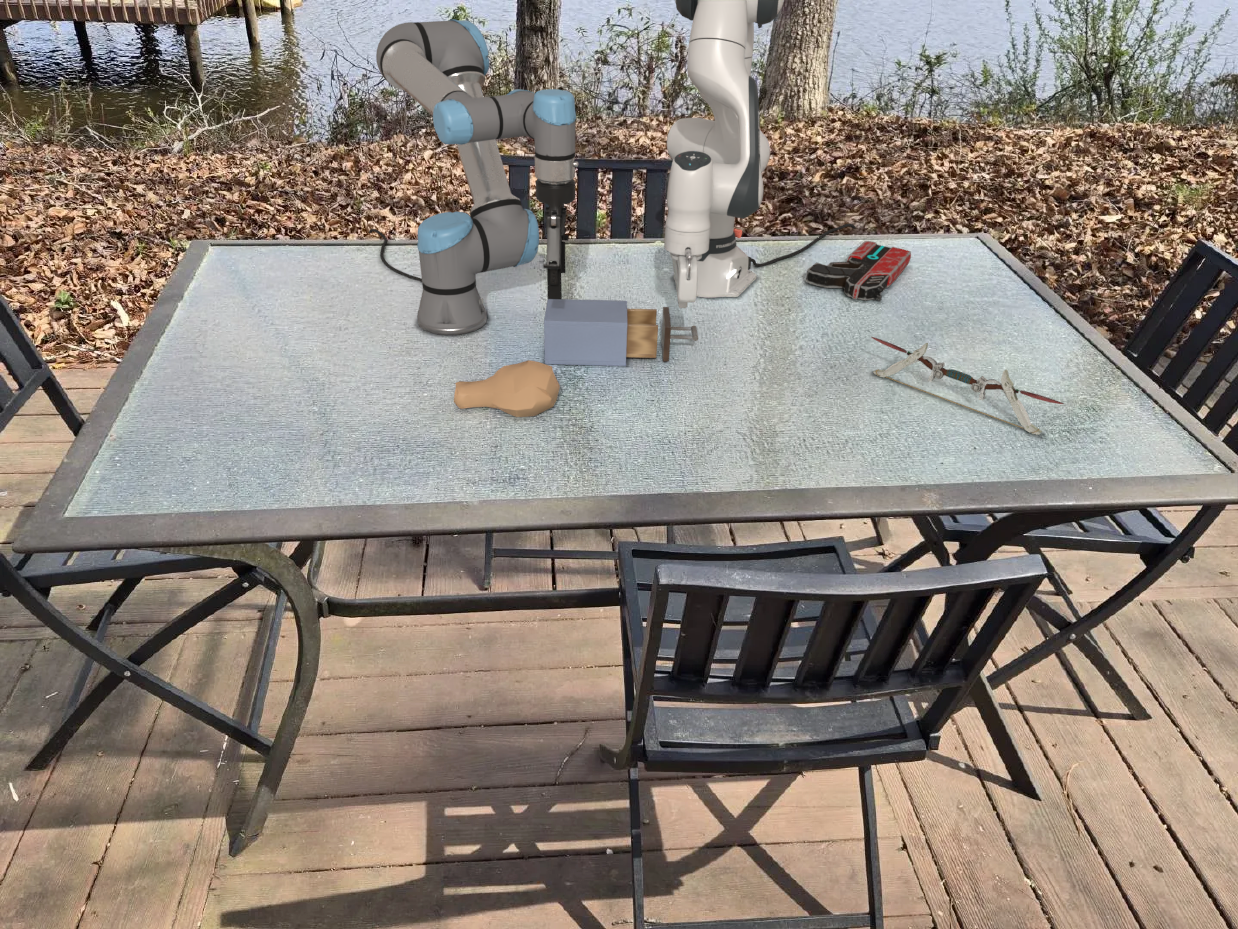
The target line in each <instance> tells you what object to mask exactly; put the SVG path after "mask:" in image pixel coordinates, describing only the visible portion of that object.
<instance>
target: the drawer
mask: <svg viewBox="0 0 1238 929" xmlns="http://www.w3.org/2000/svg"><path fill="white" fill-rule="evenodd" d="M657 312H658V310H657V308H627V349H626V358H640V359H641V358H644V359H645V358H647V359H656V358H657V356H658V355H657V354H658V353H657V352H658V336H659V324H657ZM661 317H662V318H661V337H660V344H661V353H662V361H663V362H670V352H671V350H670V349H671V340H692V341H693V342H698V341H699V333H698V327H697V325H691V326H672V323H671V314H670V307H669V306H662V316H661ZM672 331H683V332H684V331H685V332H686V331H687V332H688V331H690V332H691V335H681V334H679V335H677V334H675V335H674V334H673V335H672Z"/></svg>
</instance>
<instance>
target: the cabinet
mask: <svg viewBox="0 0 1238 929" xmlns="http://www.w3.org/2000/svg"><path fill="white" fill-rule="evenodd" d="M627 309H628V300H619V299H618V300H617V299H616V300H615V299H612V300H611V299H579V298H578V299H574V298H572V299H571V298H562V299H548V298H547V301H546V306H545V312H544V317H543V318H544V319H543V339H544V364H546V365H568V366H569V365H573V366H574V365H575V366H576V365H577V366H612V367H613V366H615V367H616V366H618V367H619V366H620V367H627V357H626V349H627Z"/></svg>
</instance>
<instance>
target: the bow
mask: <svg viewBox="0 0 1238 929" xmlns="http://www.w3.org/2000/svg"><path fill="white" fill-rule="evenodd" d="M870 338H871V339H873V340H875V341H877V342H878V343H880V344H882V345H884V346H886V347H888V348H891V349H893V350H895V351H898V352H901V353H903V354H904V353H905V354H906V355H907V357H906V358H904V359H903V358H902V359H901V360H898V361H897V362H895V363H893V364H892V365H890V366H889V367H887V369H880V368H879V369H875V370H873V372H872V373H873V374H874V375H876V376H877V377H880V378H886V379H889V380H892V381H894V382H897V383H900V384H902V385H905V386H907V387H909V388H910V387H911V388H913V389H916V390H919V391H921V392H924V393H926V394H929V395H931V396H935V397H936V398H940V399H942V400H945V401H947V402H948V401H949V402H951V403H952V404H953V403H954V404H956V405H958V406H962V407H964V408H967V409H969V410H972V411H975V412H978V413H980V414H982V415H985V416H988V417H991V418H994V419H996V420H998V421H1001V422H1004V423H1007V424H1009V425H1012V426H1015V427H1017V428H1020V429H1023V430H1025V431H1027V432H1028V433H1030V434H1032V435H1036V436H1039V435H1041V434H1042V433H1043V430H1042V429H1040V428H1039V427H1037V426H1036V425H1034V424H1033V423H1032V422H1031V420H1030V416H1029V413H1028V412H1027V410H1026V408H1025V406H1024V405H1023V403H1022V402H1021V400H1020V399H1019V398H1018V395H1017V394H1019V393H1020V394H1021V395H1024V396H1026V397H1029V398H1033V399H1035V400H1038V401H1044V402H1047V403H1051V404H1057V405H1065V403H1064V402H1061V401H1059V400H1056V399H1053V398H1051V397H1047V396H1044V395H1041V394H1038V393H1034V392H1030V391H1026V390H1022V389H1021V390H1020V389H1018V388H1015V386H1014V382H1013V381H1012V379H1011V377H1010V375H1009V370H1008V369H1005V370H1003V371H1002V374H1001V378H1000V381H999V380H997V379H995V378H989V379H987V378H986V377H985V376H984V375H981V376H980V377H979V378H978V379H975V378H974V377H973V376H972V375H970V374H968V373H965V372H963V371H959V370H956V369H950V368H949V369H946V368H945V365H946V364H945V362H944V361H943V362H937V360H935V359H934V358H933V357H931V356H927V355H926V356H924V355H925V354H926V353H927V350H928V346H929V342H925V343H924V344H923V345H922V346H921V347H920V348H917V349H915V350H913V351H912V352H911V351H907V350H906V349H905V348H903V347H902V346H901V347H900V346H898V345H896V344H893V343H892V342H888V341H886V340H883V339H880V338H877V337H874V336H870ZM918 362H920V363H922V364H923V365H924V366H925V367H926V368H927V369H929V370H931V373H930V375H929V376H928V379H927V382H929V383H932V382H933V381H935V378H936V379H938V380H941V379H943V378H944V377H947V378H949V379H953V380H956V381H959V382H961V383H964V384H967V385H970V386H971V387H970V389H971V391H972V392H974V393H979V394H978V400H980V401H984V400H986V395H987V393H986V390H989V391H993V390H994V391H995V390H999V391H1000V390H1001V391H1002V392H1003V394H1004V395H1005V397H1006V399H1007V401H1008V402H1009V404H1010V406H1011V408H1012V410H1013V413H1014V414H1015V415H1016V418H1017V420H1018V422H1019V424H1020V425H1021V426H1020V425H1018V424H1015V423H1012V422H1009V421H1007V420H1004V419H1002V418H1000V417H996V416H994V415H991V414H988V413H985V412H982V411H980V410H977V409H974V408H971V407H969V406H966V405H964V404H960V403H958V402H955V401H953V400H950V399H948V398H945V397H942V396H939V395H937V394H934V393H931V392H929V391H926V390H925V389H924V390H923V389H921V388H918V387H915V386H912V385H910V384H908V383H905V382H902V381H899V380H896V379H894V378H891V377H890V376H892V375H896V374H897V373H899V372H901V371H903V370H904V369H906V368H907V367H909V366H912V365H913V364H916V363H918Z"/></svg>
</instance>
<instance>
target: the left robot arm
mask: <svg viewBox="0 0 1238 929" xmlns="http://www.w3.org/2000/svg"><path fill="white" fill-rule="evenodd" d="M375 54H376V55H375V60H376V64H377V68H378V71H379V73H380V75H381V76H382V77H383V79H384V80H385V81H386V82H387V83H388V84H389V85H391V86H392V87H393V88H394V89H397V90H400V91H404V92H406V93H407V94H408V95H409V96H410V97H411V98H412V99H413V100H414V101H416V102H417V103H418V104H419V105H420V106H421V107H422V108H423V109H424V110H426V112H428V113H429V114H430V115H431V116H432V122H433V127H434V131H435V133H436V135H437V138H438V139H439V141H440V142H441V143H442V144H444V145H456V147H457V151H458V154H459V157H460V161H461V165H462V168H463V172H464V176H465V178H466V183H467V186H468V189H469V193H470V196H471V200H472V202H473V205H472V207H471V209H470V211H469V213H466V212H463V211H454V212H452V211H446V212H440V213H437V214H434V215H432V216H429V217H427V218H426V219H424V220H423V221H422V222H421V223H420V224H419V226H418V227H417V247H416V248H417V251H418V258H419V264H420V266H419V267H420V275H421V276H420V277H418V276H415V275H412V274H409V273H406V272H404V271H402V270H400V269H397V268H396V267H393V266H392V265H390V264H389V263H388V262H387V261H386V259H385V257H384V250H385V247H386V246H387V243H388V238H387V237H386V236H385V234H383V233H382V231H380V230H378V229H376V228H371V229H369V231H368V234H372V233H373V232H374V233H376V234H378V235H379V236H380V237H381V238H382V239H383V240H384V241H383V242H382V245H381V247H380V252H379V256H380V259H381V262H382V263H383V264H384V266H385V267H386V268H388V269H389V270H391V271H393V272H394V273H397V274H399V275H402V276H404V277H406V278H408V279H412V280H415V281H417V282H421V284H422V292H421V297H420V302H419V305H418V310H417V316H416V318H417V325H418V326H419V328H420V329H421V330H423V331H424V332H427V333H430V334H433V335H440V336H459V335H465V334H469V333H473V332H476V331H477V330H480V329H481V328H483V327H484V326H485V325H486V323H487V320H488V316H487V310H486V306H485V304H484V298H483V297H482V298H481V295H480V293H479V291H478V288H477V278H476V277H477V276H476V275H477V274H482V273H486V272H492V271H497V270H503V269H508V268H517V267H519V266H522V265H527V264H529V263H531V262H532V261H533V260H534V259H535V257H536V256H537V254H538V250H539V245H540V228H539V222H538V219H537V217H536V215H535V214H534V212H533V211H532V210H530V209H527V208H523V205H522V202H521V199H520V197H517V196H515V195H514V194H512V191H511V188H510V185H509V181H508V177H507V174H506V170H505V167H504V164H503V160H502V156H501V154H500V153H501V152H500V149H499V146H498V143H497V140H502V139H503V140H505V139H512V138H513V139H514V138H519V137H520V138H521V137H528V138H530V139H533V140H534V176H535V178H536V180H535V198H536V200H537V201H538V202H539V203H542V204H545V205H548V206H546V207H545V211H544V220H545V233H546V263H543V265H542V266H543V267H542V268H543V269H546V283H547V284H546V288H547V300H548V299H563V298H562V297H563V296H562V295H563V292H562V288H563V286H562V274H566V242H568V241H569V234H566V233H567V230H566V222H567V210H568V209H567V207H565V205H568V204H571V203H573V202H574V201H575V199H576V181H575V180H574V178H575V177H576V168H578V166H579V161H575V160H576V120H577V113H576V104H575V100H576V99H575V95H574V94H573V93H572V92H571V91H569V90H566V89H565V90H562V89H559V88H547V89H541V90H538V91H536V92H533V91H530V90H528V89H521V88H520V89H519V88H516V89H512V90H510V91H509V92H508V93H507V94H504V95H503V94H501V95H492V96H491V95H490V96H484V94H483V91H482V88H483V86H484V84H485V83H486V75H487V74H488V71H489V69H490V58H489V55H490V54H489V48H488V45H487V42H486V39H485V37H484V35H483V33H482V31H481V30H480V28H479V27H478V26H477V25H476V24H475V23H473V22H471V21H470V20H466V19H465V20H461V19H459V20H458V19H453V18H452V19H448V20H437V21H434V20H433V21H415V22H413V21H411V22H410V21H409V22H403V23H399V24H396V25H395V26H393V27H391V28H389V30H387V31H386V32H385V33H384V34H383V35H382V36H381V38H380V40H379V42H378V44H377V47H376V53H375Z"/></svg>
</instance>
